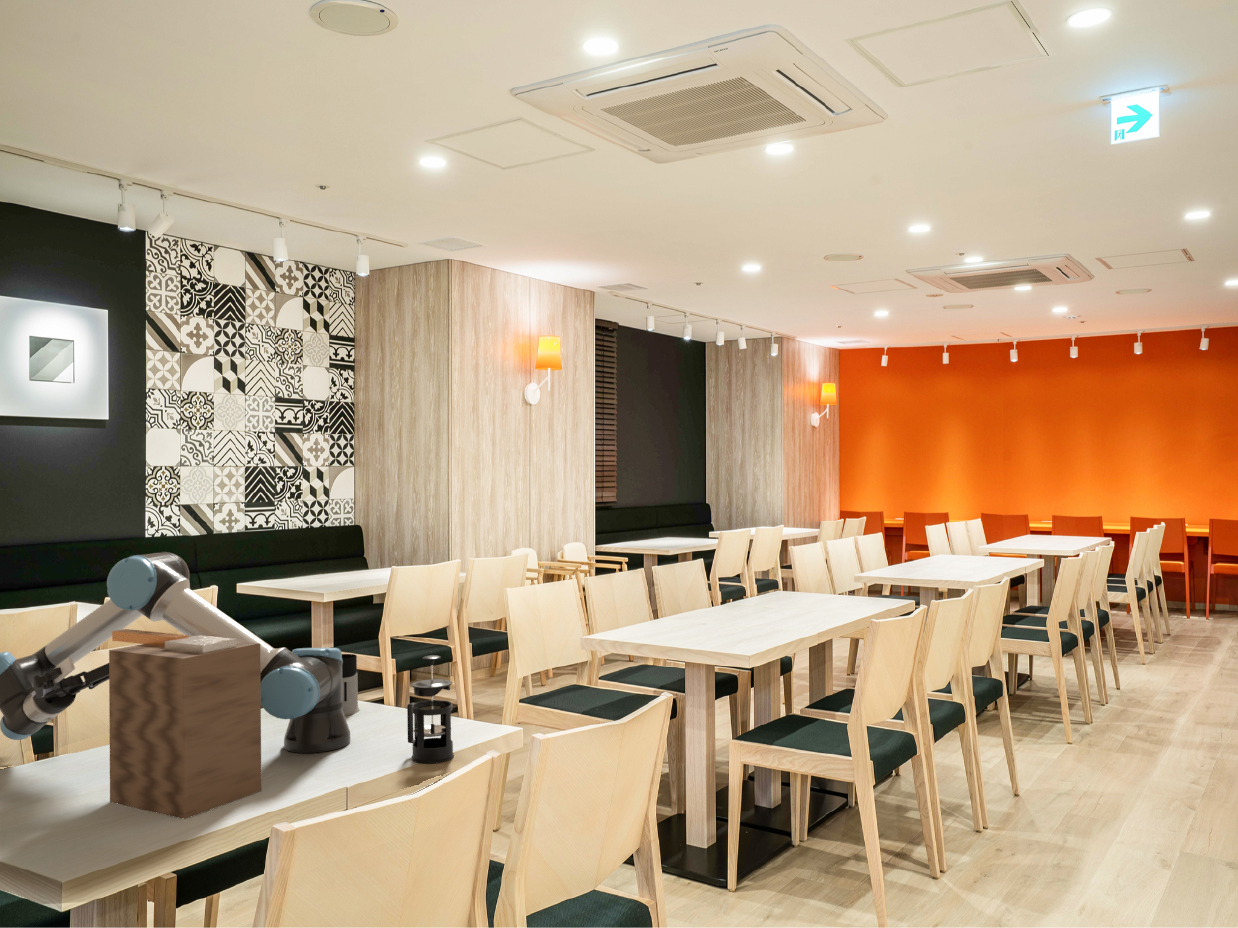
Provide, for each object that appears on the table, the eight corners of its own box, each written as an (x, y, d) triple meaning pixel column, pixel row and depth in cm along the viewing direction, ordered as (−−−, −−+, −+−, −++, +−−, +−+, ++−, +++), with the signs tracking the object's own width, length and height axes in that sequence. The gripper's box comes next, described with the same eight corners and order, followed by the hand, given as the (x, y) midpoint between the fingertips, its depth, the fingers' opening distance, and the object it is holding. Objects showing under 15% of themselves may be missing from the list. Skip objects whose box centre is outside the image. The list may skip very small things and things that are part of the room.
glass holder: (362, 707, 265) (362, 653, 265) (350, 720, 251) (349, 663, 251) (331, 707, 264) (330, 653, 265) (316, 720, 250) (315, 663, 250)
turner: (101, 642, 198) (101, 632, 198) (136, 636, 205) (136, 627, 205) (202, 653, 184) (202, 643, 184) (236, 646, 191) (236, 636, 191)
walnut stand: (109, 801, 188) (109, 649, 189) (188, 776, 204) (187, 636, 205) (184, 819, 178) (183, 658, 179) (261, 790, 194) (260, 643, 195)
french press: (464, 754, 218) (463, 653, 218) (439, 766, 209) (438, 661, 209) (422, 749, 223) (421, 650, 223) (396, 760, 214) (395, 657, 214)
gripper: (108, 702, 223) (160, 662, 214) (-3, 727, 200) (49, 684, 192) (98, 672, 224) (149, 632, 216) (-14, 695, 202) (38, 651, 194)
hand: (102, 657), depth 204 cm, fingers open, 13 cm apart
